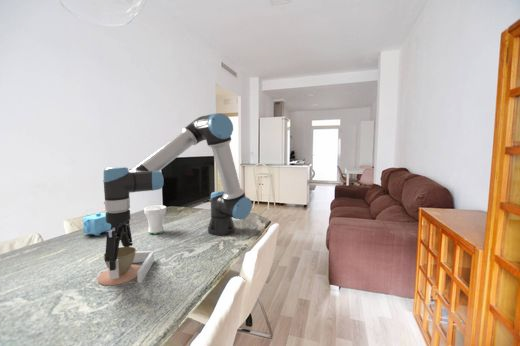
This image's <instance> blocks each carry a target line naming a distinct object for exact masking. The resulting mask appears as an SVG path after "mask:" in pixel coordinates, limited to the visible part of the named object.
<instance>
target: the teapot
mask: <svg viewBox="0 0 520 346" xmlns="http://www.w3.org/2000/svg"><path fill="white" fill-rule="evenodd" d="M105 213H106V212H95V213H94V214H90V213H86V216H84V217H82V232H83V233H84V234H87V235H94V236H95V237H98V236H101V233H102V234H103V233H105V234H106V232H107V231H110V229H111V224H109V223H107V222H106V215H105Z"/></svg>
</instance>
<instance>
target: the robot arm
mask: <svg viewBox="0 0 520 346" xmlns="http://www.w3.org/2000/svg"><path fill="white" fill-rule="evenodd" d="M181 130H182V131H181V133H180V134H178V135H177V136H175V137H173V139H171V140H170V141H169V142H167V143H166V144H164V145H163V146H162V147H160V148H159V149H158V150H156V151H155V152H153V153H152V154H151V155H150V156H148V157H146V159H144V160H142V162H140V163H138V164H137V165H136V166H135V167H133V168H130V169H129V168H128V167H125V166H112V167H111V166H110V167H106V168H104V170H103V180H102V182H103V192H104V202H103V205H104V207H105V208H104V209H105V211H106V212H104V213H105V215H106V222H107V223H109V224H111V229H110V230H109V231H107V232H106V233H105V235H106V241H105V252H104V254H105V260H104V263H105V262H109V268H108V269H109V275H110V279H114V278H119V261H118V259H117V255H118V249H119V248H120V242H121V245H122V247H133V244H134V243H133V237H132V232H131V225H130V220H131V210H130V209H131V201H130V199H131V198H130V193H138V192H148V191H157V190H161V189H162V188H163V187H164V175H163V174H162V172H161V171H162V169H164V168H165V167H166V166H168V165H169V164H170V163H172V162H173V161H174V160H175V159H176V158H178V157H180V156H181V155H182V154H183V153H185V151H186V150H188V149H189V148H190V147H192V146H196V145H198V144H199V143H201V142H203V141H206V143H207V146H208V147H210V148H211V149H212V153H213V157H214V160H215V164H216V168H217V172H218V175H219V178H220V182H221V186H222V189H223V190H218V191H213V192H211V194H210V221H209V223H208V225H207V232H208V233H209V234H210V235H213V236H226V235H231V234H232V233H234V232H235V231H236V230H235V229H236V228H235V227H236V226H235V224H234V221H233V219H234V220H235V219H237V220H245V218H247V217H248V216H249V215H250V214H251V211H252V209H253V208H252V207H253V202H252V200H251V199H250V198H249V197H247V196H246V193H245V189H243V188H241V185H240V181H239V178H238V173H237V169H236V165H235V162H234V157H233V154H232V149H231V145H230V144H231V142H232V137H231V136H232V134H233V131H234V124H233V122H232V120H231V118H230V117H229V116H227V115H226V114H224V113H220V112H219V113H211V114H207V115H206V114H205V115H202V116H199V117H198V118H195V119H194V120H193V121H191V122H190V123H189V124H188V125H186V126H185V127H184V128H182V129H181Z"/></svg>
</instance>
